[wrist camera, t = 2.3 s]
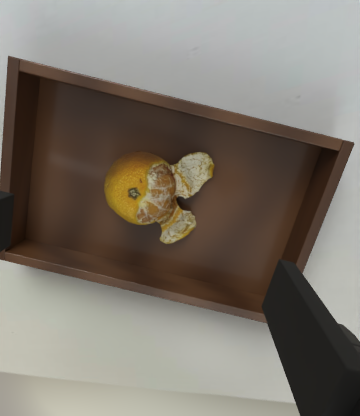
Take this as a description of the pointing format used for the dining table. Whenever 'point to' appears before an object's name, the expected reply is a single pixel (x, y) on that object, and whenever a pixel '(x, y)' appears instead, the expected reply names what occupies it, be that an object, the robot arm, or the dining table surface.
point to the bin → (198, 203)
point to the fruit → (156, 190)
